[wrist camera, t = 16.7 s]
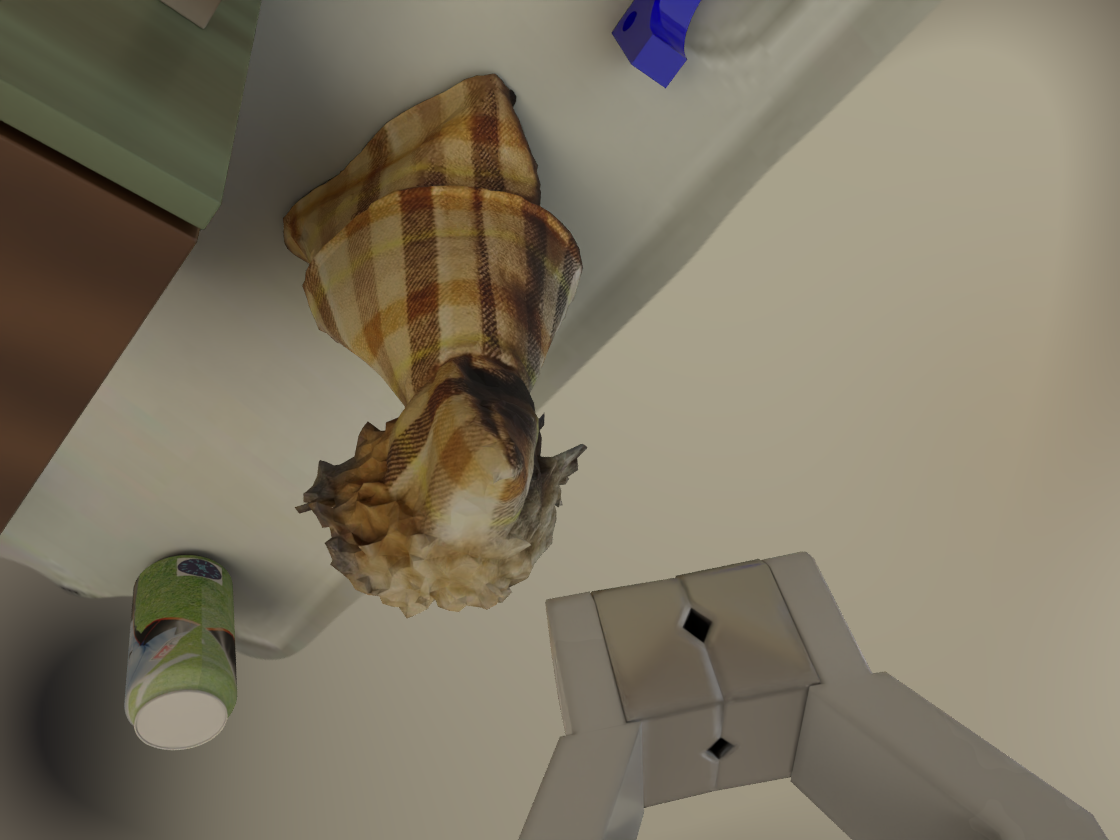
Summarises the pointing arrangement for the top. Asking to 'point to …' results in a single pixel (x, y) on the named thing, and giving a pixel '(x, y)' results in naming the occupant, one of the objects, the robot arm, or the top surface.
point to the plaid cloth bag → (441, 350)
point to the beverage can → (181, 653)
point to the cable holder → (656, 36)
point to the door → (132, 90)
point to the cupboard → (68, 295)
